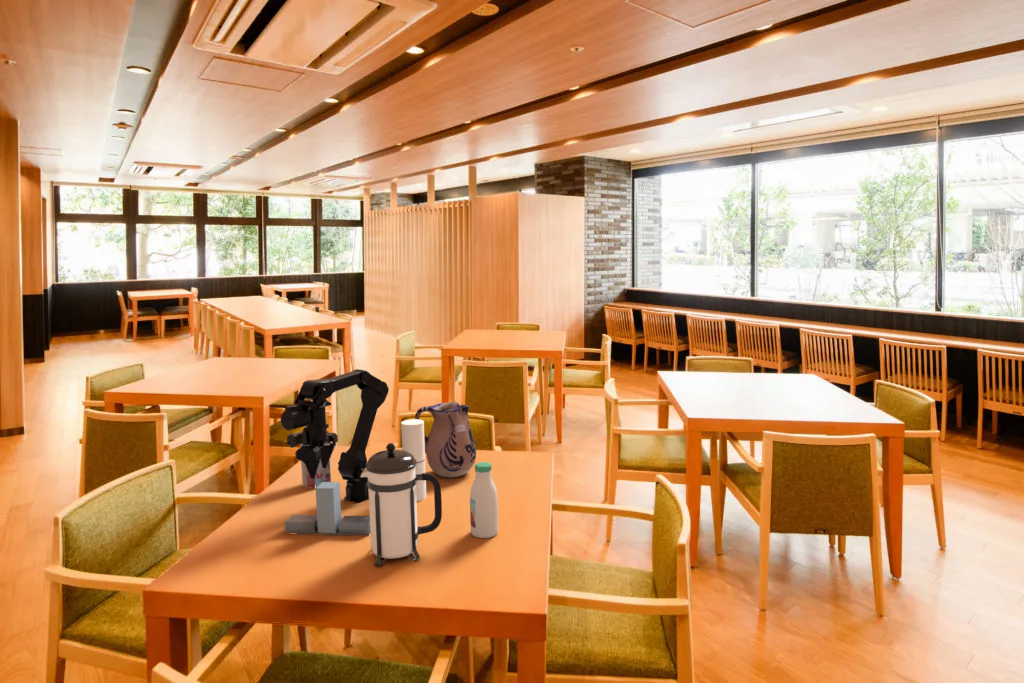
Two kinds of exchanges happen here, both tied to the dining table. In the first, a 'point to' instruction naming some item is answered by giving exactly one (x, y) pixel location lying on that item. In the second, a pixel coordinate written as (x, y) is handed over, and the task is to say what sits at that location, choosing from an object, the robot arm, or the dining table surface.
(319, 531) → the peg
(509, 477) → the dining table surface
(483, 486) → the milk bottle
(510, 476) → the dining table surface
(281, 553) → the dining table surface
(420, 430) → the cylindrical container
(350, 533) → the rail
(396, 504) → the coffee press
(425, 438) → the ceramic pitcher
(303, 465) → the juice carton
